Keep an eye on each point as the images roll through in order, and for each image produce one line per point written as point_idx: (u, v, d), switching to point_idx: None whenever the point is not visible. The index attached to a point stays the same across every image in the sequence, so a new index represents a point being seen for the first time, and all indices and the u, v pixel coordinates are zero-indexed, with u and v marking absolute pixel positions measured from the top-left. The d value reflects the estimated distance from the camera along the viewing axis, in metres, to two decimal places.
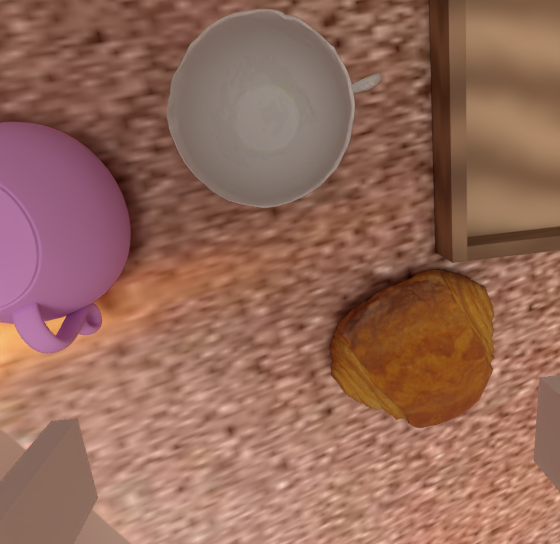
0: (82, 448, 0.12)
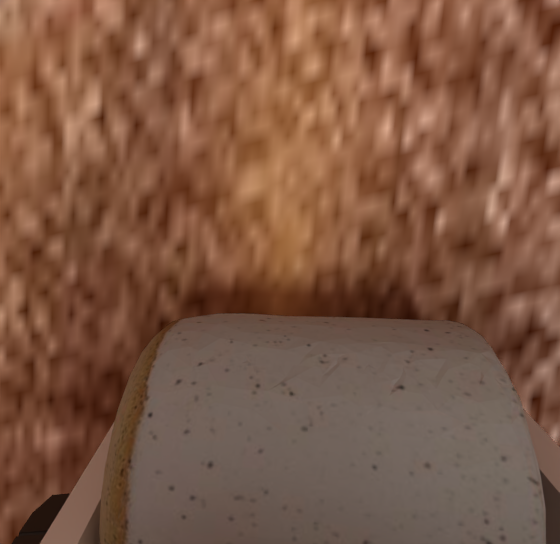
0: None
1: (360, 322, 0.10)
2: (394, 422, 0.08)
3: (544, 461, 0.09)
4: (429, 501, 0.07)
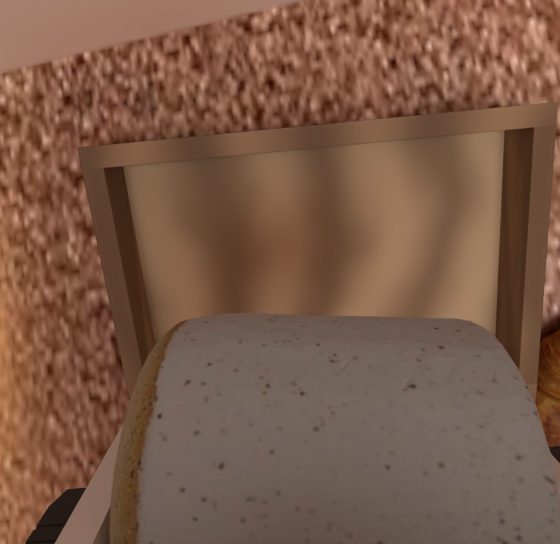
0: None
1: (369, 321, 0.10)
2: (407, 421, 0.08)
3: None
4: (444, 501, 0.07)
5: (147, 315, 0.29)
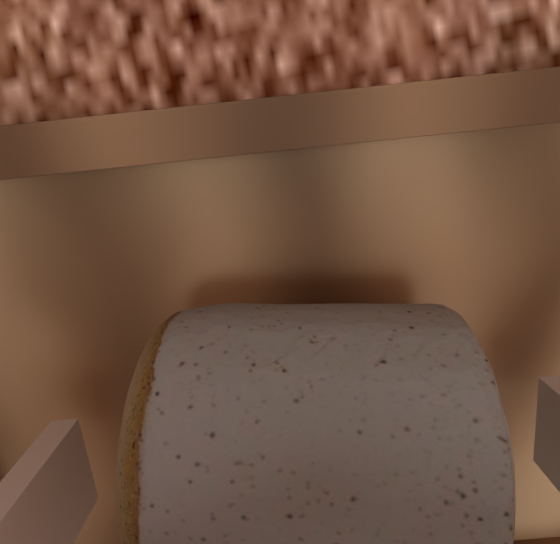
0: (82, 447, 0.12)
1: (348, 307, 0.11)
2: (377, 392, 0.09)
3: None
4: (409, 460, 0.08)
5: None
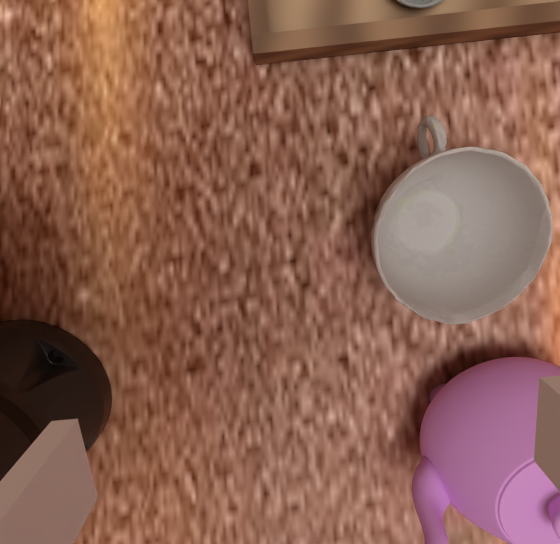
0: (82, 448, 0.12)
1: None
2: None
3: None
4: None
5: None
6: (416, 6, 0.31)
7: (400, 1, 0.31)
